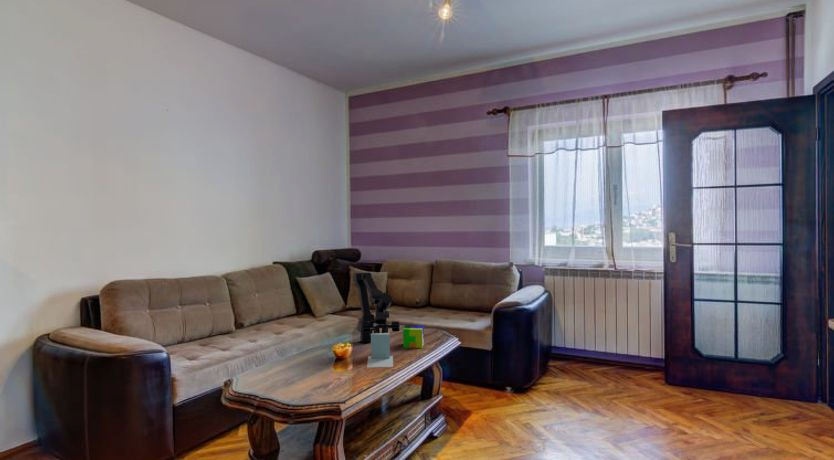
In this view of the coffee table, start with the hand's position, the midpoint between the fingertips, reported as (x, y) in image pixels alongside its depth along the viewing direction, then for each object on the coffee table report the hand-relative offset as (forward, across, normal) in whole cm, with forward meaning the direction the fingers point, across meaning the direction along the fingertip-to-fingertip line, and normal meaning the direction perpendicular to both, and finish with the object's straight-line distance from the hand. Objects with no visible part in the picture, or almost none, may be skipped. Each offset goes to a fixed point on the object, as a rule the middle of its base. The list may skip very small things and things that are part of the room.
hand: (380, 341), depth 222 cm
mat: (+10, 0, +2) cm, 10 cm away
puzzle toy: (-9, +17, +21) cm, 29 cm away
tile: (+6, 0, +5) cm, 8 cm away
